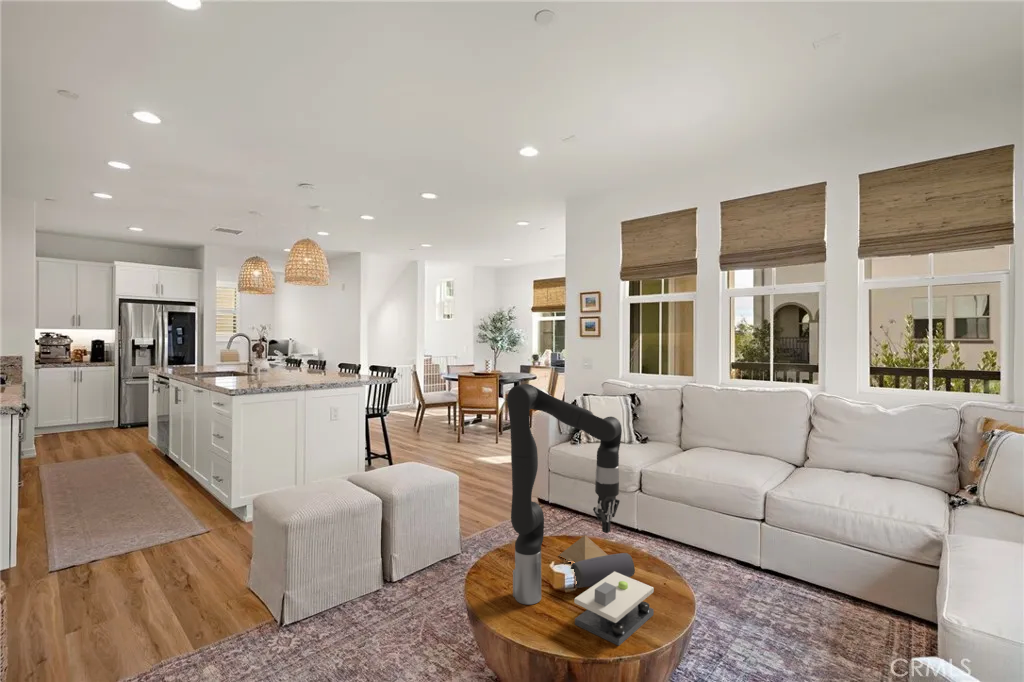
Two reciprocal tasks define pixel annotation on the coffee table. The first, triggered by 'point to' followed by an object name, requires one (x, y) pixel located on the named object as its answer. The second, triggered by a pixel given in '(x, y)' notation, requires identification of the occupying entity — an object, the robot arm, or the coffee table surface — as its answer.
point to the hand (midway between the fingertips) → (606, 531)
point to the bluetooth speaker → (602, 568)
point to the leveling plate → (621, 597)
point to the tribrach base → (607, 624)
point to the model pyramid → (582, 550)
